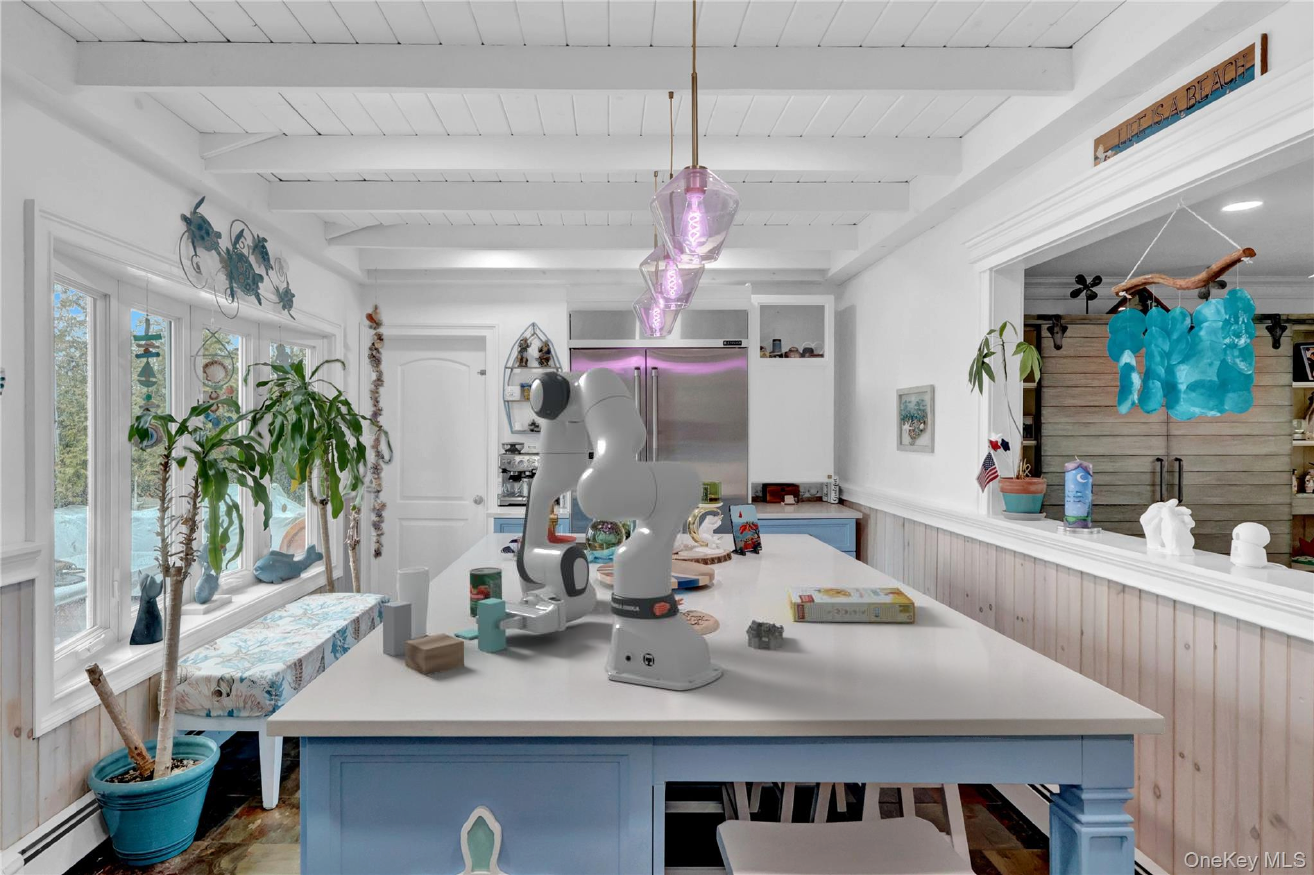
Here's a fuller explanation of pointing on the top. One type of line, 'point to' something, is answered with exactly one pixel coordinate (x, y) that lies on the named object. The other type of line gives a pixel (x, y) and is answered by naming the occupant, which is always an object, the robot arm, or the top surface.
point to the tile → (467, 634)
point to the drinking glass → (415, 596)
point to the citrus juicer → (552, 539)
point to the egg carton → (764, 635)
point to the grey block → (396, 627)
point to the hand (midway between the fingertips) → (488, 623)
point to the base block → (434, 653)
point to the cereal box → (850, 604)
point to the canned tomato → (484, 586)
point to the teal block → (491, 625)
